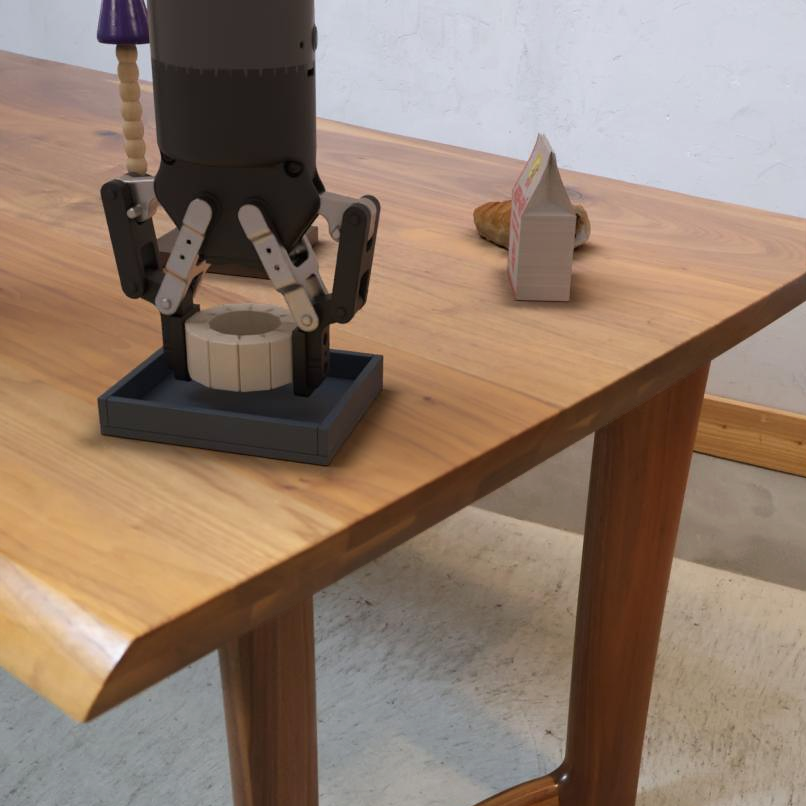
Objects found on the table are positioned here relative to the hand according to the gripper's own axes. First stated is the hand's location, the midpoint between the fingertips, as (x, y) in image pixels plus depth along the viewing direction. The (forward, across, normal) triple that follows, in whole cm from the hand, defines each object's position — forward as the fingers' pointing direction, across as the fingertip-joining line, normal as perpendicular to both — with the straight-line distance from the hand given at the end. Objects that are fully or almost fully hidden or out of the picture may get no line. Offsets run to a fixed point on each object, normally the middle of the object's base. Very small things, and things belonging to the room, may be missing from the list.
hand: (248, 382), depth 61 cm
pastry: (+2, +10, +36) cm, 37 cm away
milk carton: (+2, +12, +26) cm, 28 cm away
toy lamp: (+2, -26, +39) cm, 47 cm away
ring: (-1, 0, 0) cm, 1 cm away
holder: (+2, -12, +26) cm, 28 cm away
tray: (+2, 0, 0) cm, 2 cm away
